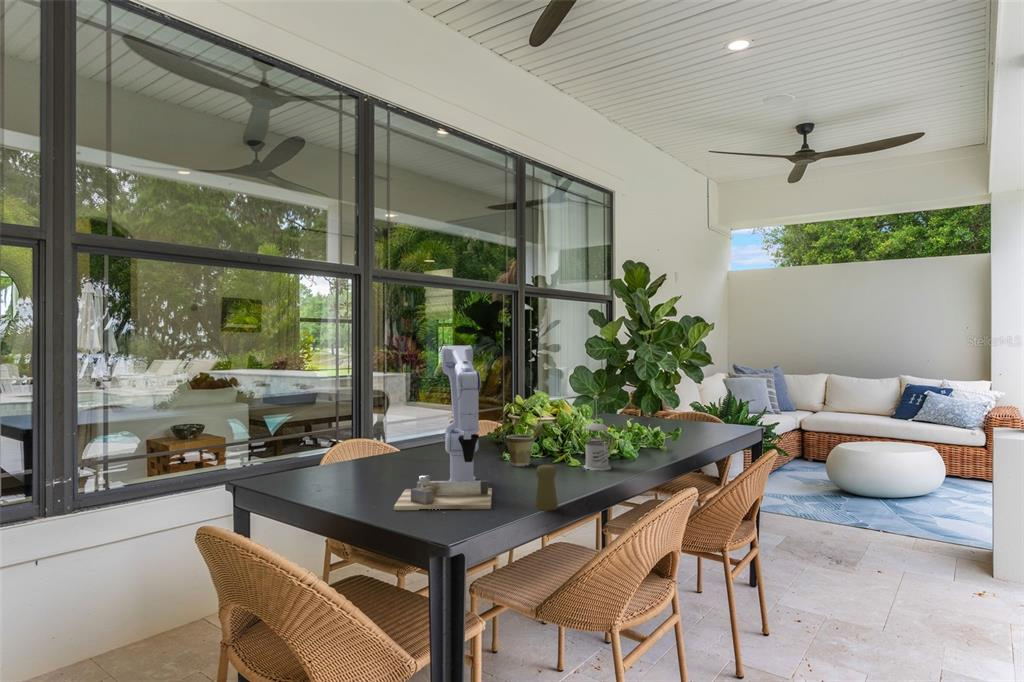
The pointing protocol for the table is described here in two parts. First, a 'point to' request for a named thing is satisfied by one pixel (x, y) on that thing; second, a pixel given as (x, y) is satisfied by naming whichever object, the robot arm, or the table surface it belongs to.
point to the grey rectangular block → (422, 496)
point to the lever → (454, 486)
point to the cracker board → (446, 501)
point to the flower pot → (520, 449)
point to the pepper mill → (546, 488)
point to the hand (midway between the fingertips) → (468, 460)
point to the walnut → (432, 490)
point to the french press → (597, 447)
